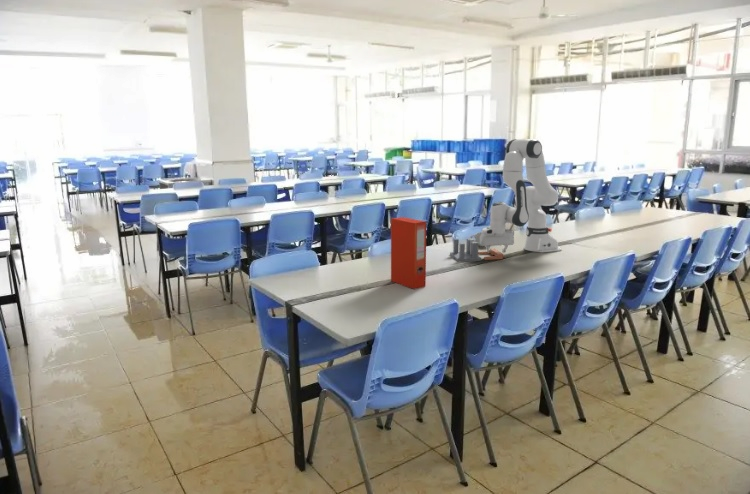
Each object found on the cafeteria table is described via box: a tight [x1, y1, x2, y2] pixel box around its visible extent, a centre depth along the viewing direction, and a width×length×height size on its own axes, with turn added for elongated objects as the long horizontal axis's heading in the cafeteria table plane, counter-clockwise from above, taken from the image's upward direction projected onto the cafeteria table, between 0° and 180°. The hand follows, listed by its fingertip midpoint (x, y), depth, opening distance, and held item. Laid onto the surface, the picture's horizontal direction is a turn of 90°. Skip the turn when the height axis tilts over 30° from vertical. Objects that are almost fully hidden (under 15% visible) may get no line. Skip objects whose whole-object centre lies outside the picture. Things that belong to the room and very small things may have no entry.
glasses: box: [478, 248, 504, 261], centre depth 311 cm, size 11×14×3 cm
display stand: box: [449, 237, 482, 262], centre depth 308 cm, size 14×17×11 cm
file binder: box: [390, 216, 427, 290], centre depth 255 cm, size 8×17×32 cm, turn 36°
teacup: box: [469, 231, 483, 247], centre depth 339 cm, size 14×11×8 cm
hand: (496, 252), depth 311 cm, fingers open, 8 cm apart
